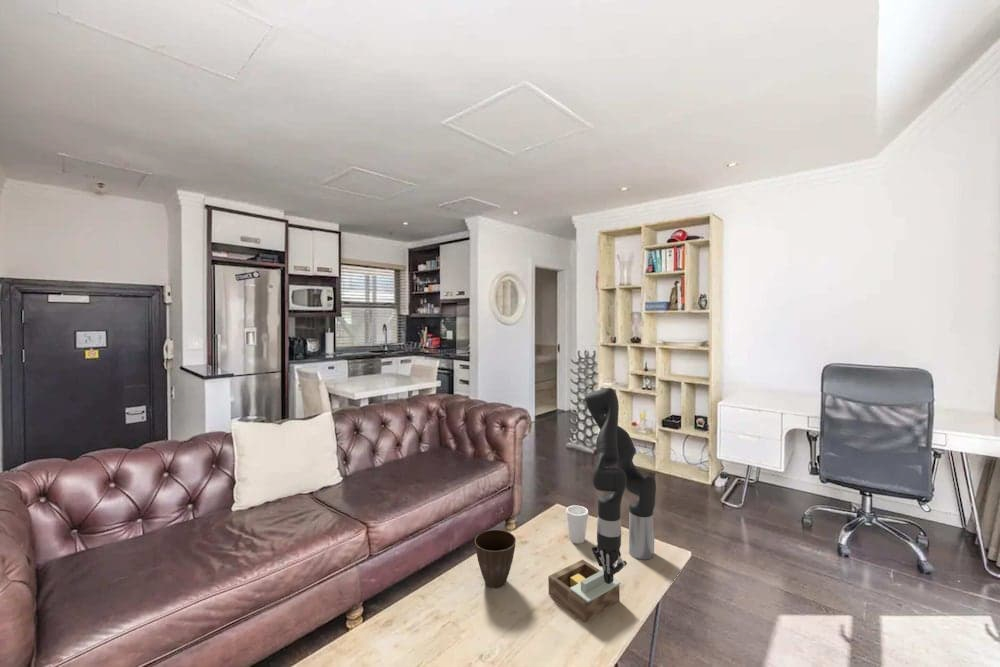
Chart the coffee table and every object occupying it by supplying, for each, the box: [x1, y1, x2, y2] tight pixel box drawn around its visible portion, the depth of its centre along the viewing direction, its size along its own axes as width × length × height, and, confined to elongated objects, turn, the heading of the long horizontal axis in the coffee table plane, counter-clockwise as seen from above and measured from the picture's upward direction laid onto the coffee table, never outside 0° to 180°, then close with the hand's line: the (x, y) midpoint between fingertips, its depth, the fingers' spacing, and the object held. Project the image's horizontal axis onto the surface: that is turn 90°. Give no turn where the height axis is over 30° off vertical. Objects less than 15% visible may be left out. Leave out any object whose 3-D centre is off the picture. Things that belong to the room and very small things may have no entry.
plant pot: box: [474, 529, 517, 589], centre depth 158 cm, size 15×15×16 cm
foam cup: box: [565, 505, 589, 545], centre depth 186 cm, size 10×9×13 cm
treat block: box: [570, 573, 586, 588], centre depth 151 cm, size 4×4×5 cm
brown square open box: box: [548, 559, 620, 623], centre depth 149 cm, size 17×17×6 cm
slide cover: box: [570, 569, 622, 602], centre depth 144 cm, size 16×8×4 cm, turn 125°
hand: (608, 582), depth 139 cm, fingers closed
